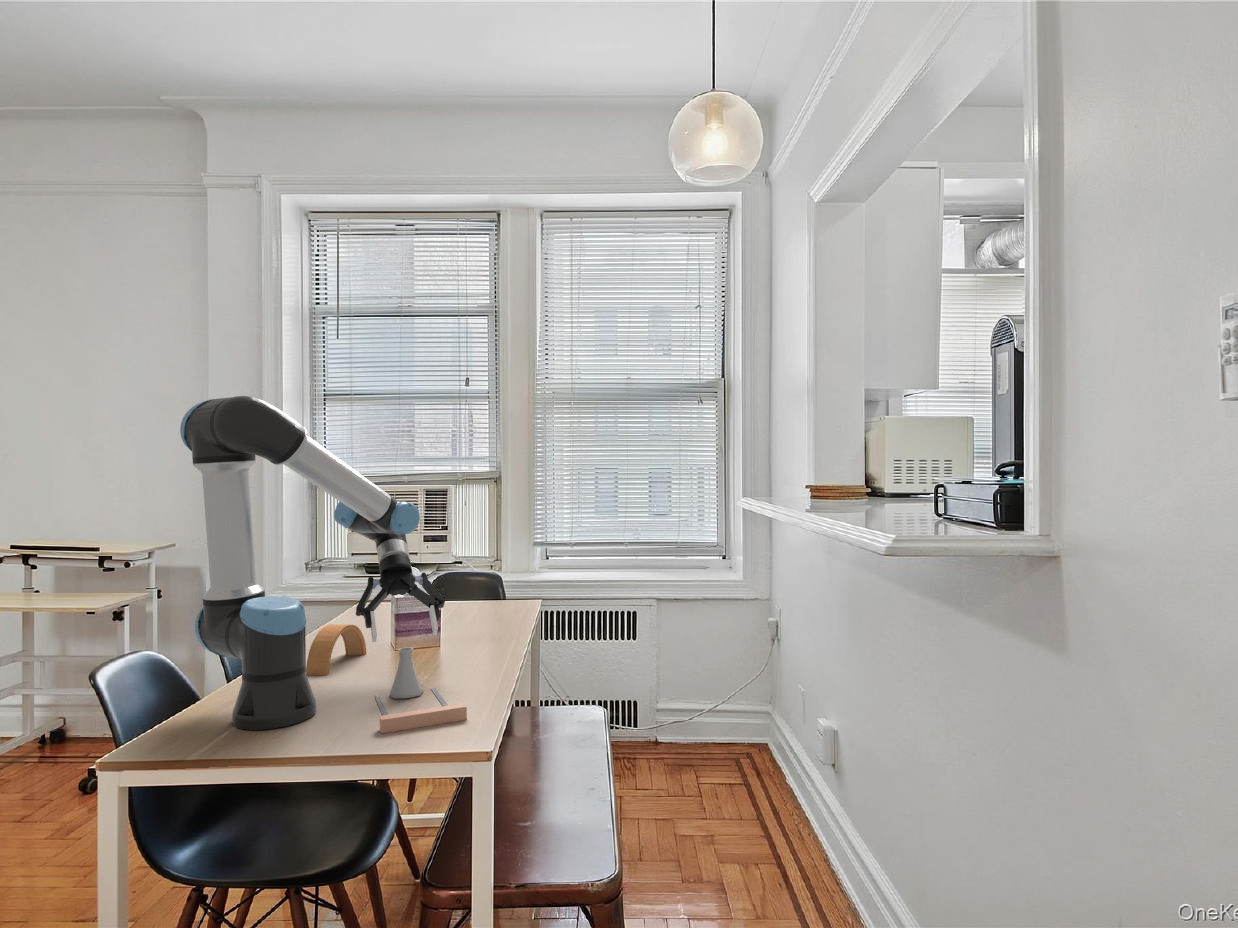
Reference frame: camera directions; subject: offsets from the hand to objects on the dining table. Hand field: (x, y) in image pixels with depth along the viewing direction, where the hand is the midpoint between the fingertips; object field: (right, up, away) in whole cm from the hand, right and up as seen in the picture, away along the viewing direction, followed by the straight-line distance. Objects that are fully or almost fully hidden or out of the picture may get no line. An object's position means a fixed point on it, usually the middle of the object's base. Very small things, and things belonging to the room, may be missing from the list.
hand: (405, 635), depth 167 cm
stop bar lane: (+7, -11, -16) cm, 21 cm away
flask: (+2, -11, -7) cm, 14 cm away
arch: (-23, -12, +20) cm, 33 cm away
